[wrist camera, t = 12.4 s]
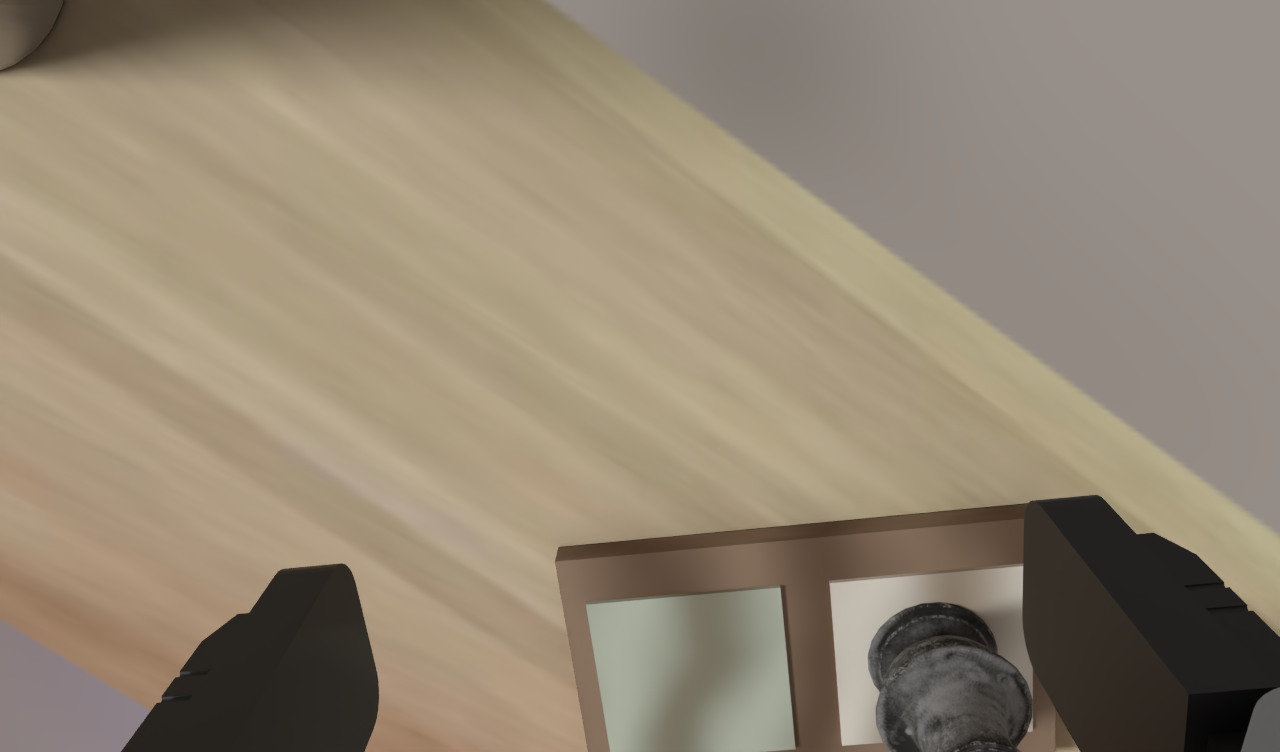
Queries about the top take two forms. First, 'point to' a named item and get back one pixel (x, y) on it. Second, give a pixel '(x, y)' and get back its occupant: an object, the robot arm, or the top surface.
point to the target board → (777, 628)
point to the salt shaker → (946, 684)
